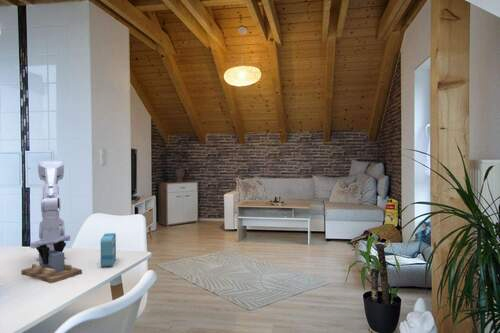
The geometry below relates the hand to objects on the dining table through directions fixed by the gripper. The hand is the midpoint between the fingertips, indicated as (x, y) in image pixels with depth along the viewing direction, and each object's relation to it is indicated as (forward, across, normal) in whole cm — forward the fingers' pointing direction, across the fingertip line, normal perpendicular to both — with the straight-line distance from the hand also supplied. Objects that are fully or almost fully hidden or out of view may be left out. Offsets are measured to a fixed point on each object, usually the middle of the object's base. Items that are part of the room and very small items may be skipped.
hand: (51, 262), depth 135 cm
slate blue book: (+3, 0, 0) cm, 3 cm away
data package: (+5, +20, -8) cm, 22 cm away
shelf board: (+4, 0, 0) cm, 4 cm away
